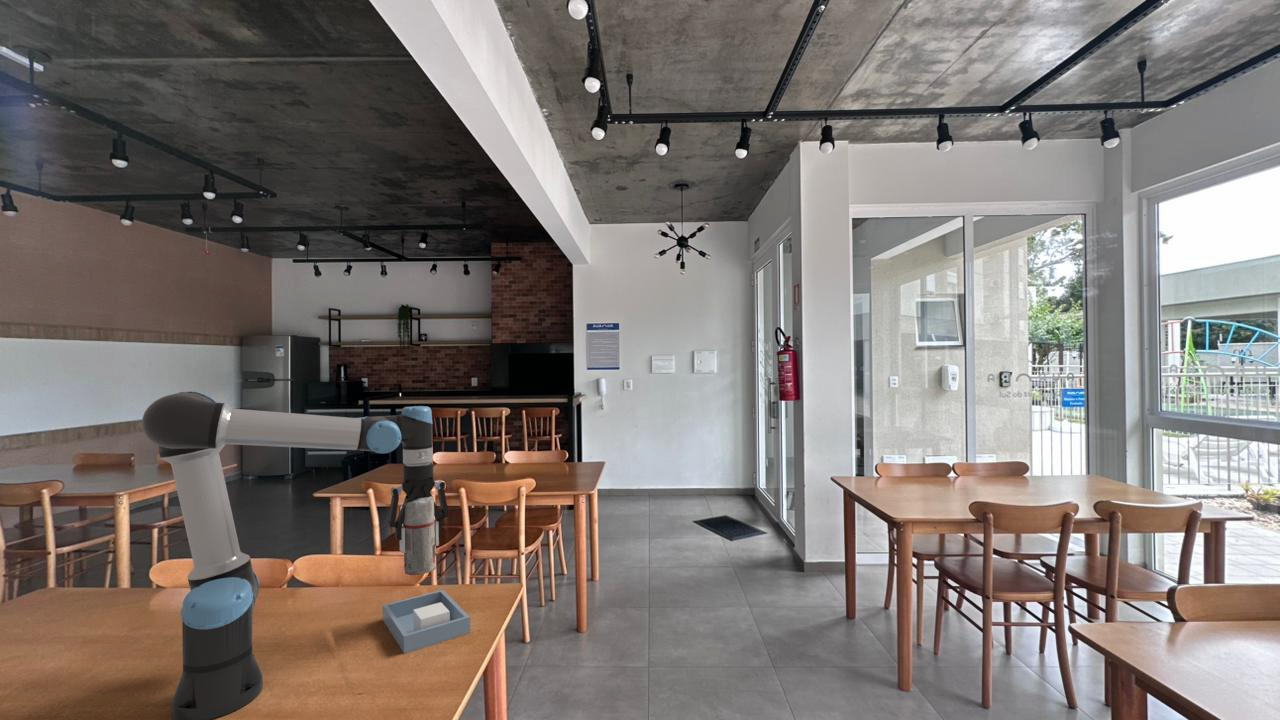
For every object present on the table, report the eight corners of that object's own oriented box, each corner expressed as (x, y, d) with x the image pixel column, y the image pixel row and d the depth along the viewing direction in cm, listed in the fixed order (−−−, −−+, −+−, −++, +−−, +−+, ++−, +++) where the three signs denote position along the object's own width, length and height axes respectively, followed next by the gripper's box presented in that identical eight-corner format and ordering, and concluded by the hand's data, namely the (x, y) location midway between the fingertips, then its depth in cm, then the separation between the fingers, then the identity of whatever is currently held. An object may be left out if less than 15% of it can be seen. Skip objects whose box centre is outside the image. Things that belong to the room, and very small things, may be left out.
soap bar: (421, 644, 135) (421, 619, 135) (413, 633, 141) (413, 609, 141) (450, 635, 139) (449, 611, 139) (441, 625, 145) (441, 602, 145)
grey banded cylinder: (428, 576, 144) (429, 500, 144) (397, 576, 144) (398, 500, 145) (440, 565, 153) (441, 492, 153) (411, 564, 153) (411, 492, 153)
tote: (404, 657, 131) (404, 636, 131) (382, 623, 148) (382, 605, 148) (470, 636, 140) (470, 617, 140) (442, 607, 158) (442, 589, 158)
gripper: (379, 470, 139) (380, 560, 139) (461, 460, 152) (462, 543, 152) (373, 466, 145) (374, 552, 145) (452, 457, 158) (453, 536, 158)
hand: (419, 547), depth 149 cm, fingers closed on grey banded cylinder, 8 cm apart
